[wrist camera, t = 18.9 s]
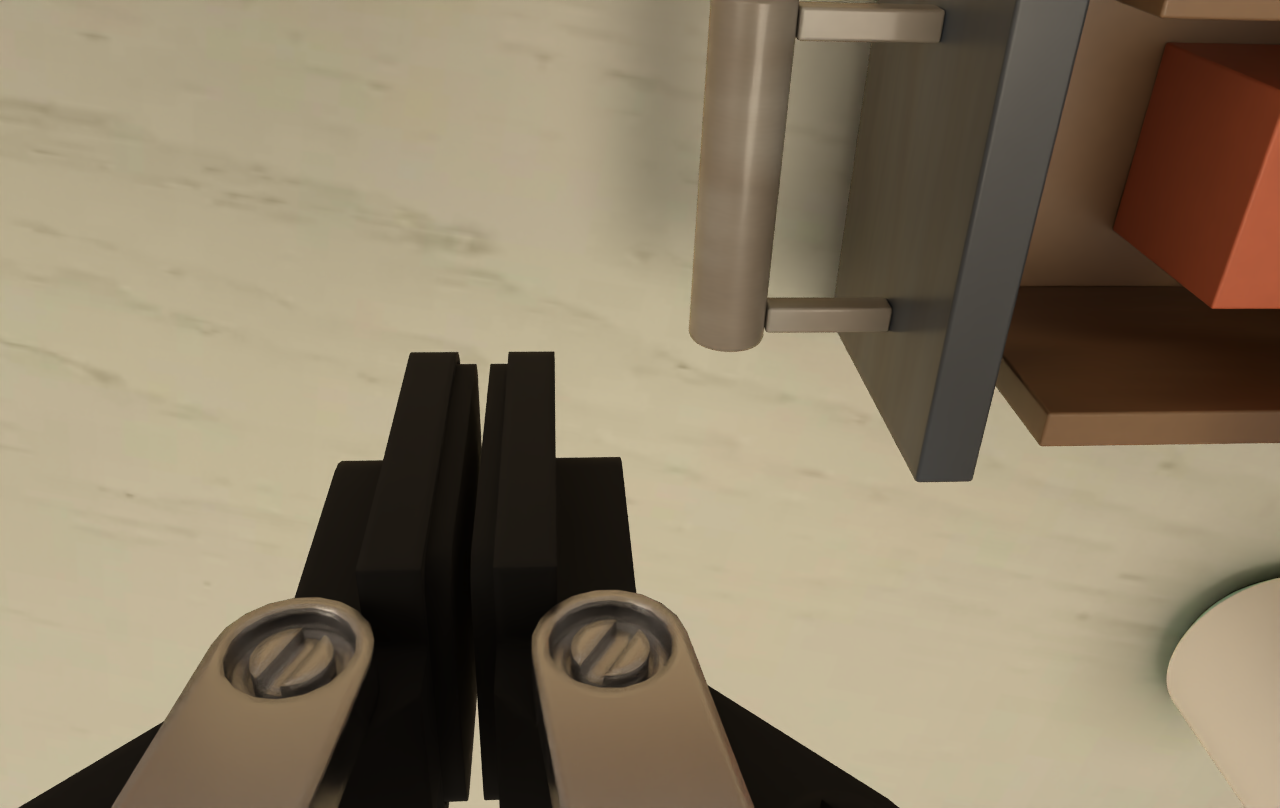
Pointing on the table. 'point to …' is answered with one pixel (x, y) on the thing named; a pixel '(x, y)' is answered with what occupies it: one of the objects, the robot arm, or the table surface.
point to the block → (1211, 174)
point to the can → (1235, 689)
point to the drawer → (983, 223)
